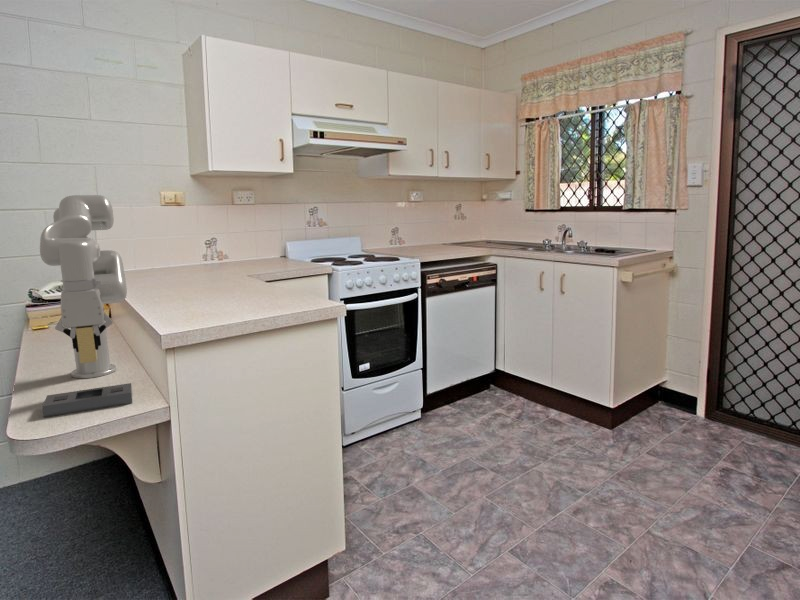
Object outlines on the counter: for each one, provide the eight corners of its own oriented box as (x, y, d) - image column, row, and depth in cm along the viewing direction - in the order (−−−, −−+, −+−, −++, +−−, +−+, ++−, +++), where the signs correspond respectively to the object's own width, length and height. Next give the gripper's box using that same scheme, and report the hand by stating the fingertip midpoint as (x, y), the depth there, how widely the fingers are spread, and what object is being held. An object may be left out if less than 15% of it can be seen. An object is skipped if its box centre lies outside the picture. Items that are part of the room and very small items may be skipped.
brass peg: (81, 359, 150) (77, 325, 148) (97, 357, 152) (93, 323, 150) (80, 363, 146) (75, 328, 144) (96, 361, 148) (92, 326, 146)
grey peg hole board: (48, 406, 141) (47, 395, 140) (132, 393, 149) (131, 382, 149) (43, 417, 133) (42, 406, 132) (132, 403, 141) (131, 392, 141)
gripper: (114, 281, 152) (121, 342, 155) (45, 286, 144) (54, 350, 148) (113, 285, 145) (120, 349, 149) (41, 290, 138) (50, 357, 141)
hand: (87, 349), depth 148 cm, fingers closed on brass peg, 4 cm apart
